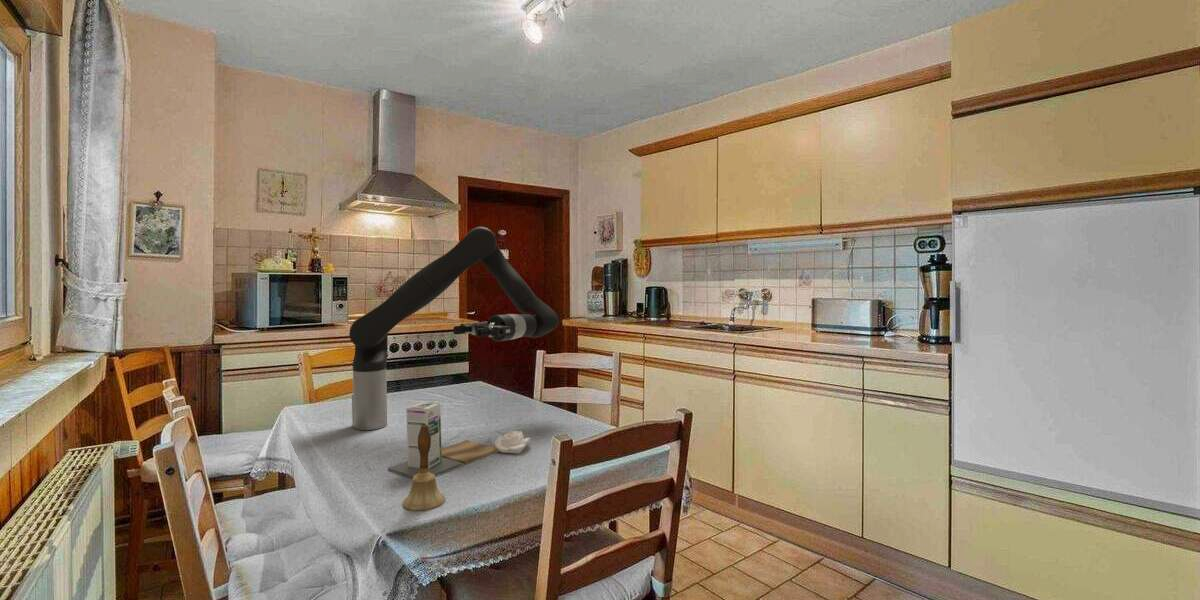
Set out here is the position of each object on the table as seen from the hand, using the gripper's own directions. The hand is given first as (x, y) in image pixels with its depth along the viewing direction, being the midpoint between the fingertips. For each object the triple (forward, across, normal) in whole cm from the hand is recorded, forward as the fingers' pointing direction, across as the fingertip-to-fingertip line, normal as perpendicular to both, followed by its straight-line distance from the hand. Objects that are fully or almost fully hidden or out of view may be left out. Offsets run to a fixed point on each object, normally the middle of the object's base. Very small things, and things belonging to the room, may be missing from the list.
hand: (465, 331), depth 148 cm
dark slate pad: (+17, +5, +31) cm, 36 cm away
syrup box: (+17, +5, +30) cm, 35 cm away
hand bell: (+30, +20, +31) cm, 48 cm away
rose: (-5, +13, +30) cm, 33 cm away
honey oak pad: (+4, +5, +31) cm, 31 cm away
